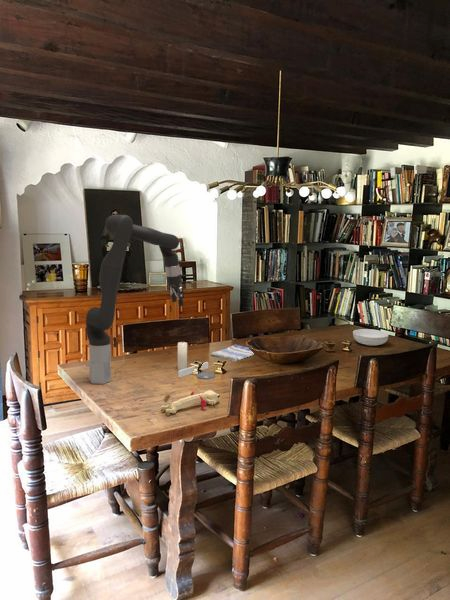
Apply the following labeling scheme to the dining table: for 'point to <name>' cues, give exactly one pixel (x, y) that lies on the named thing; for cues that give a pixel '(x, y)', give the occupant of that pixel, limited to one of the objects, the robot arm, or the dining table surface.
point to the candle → (182, 356)
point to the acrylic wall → (191, 370)
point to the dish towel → (234, 353)
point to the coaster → (205, 375)
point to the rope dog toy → (190, 401)
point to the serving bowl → (370, 337)
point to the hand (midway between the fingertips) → (177, 304)
